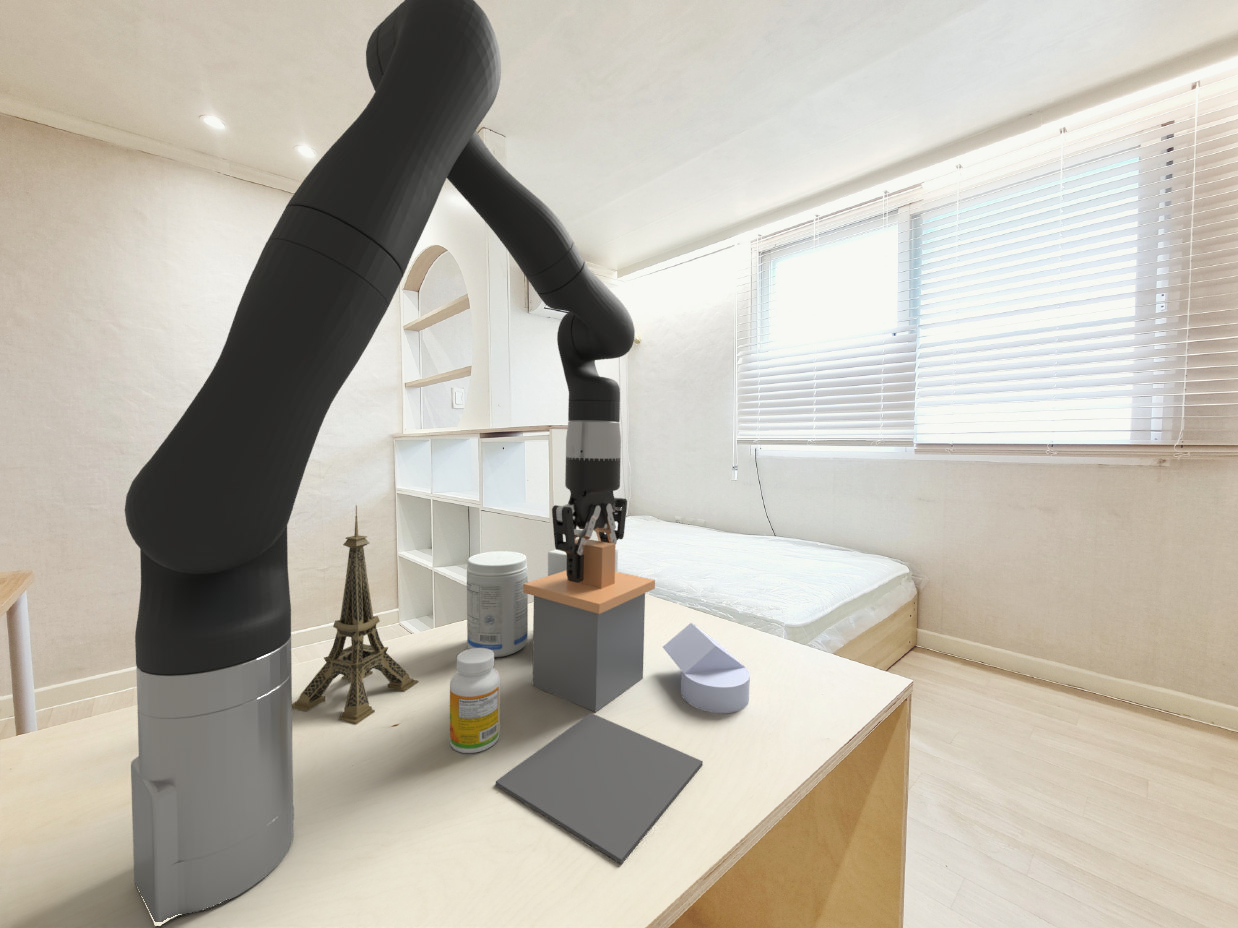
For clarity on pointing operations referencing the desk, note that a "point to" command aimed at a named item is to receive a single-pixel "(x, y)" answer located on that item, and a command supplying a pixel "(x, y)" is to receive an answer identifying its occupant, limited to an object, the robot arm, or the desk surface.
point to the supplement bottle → (474, 702)
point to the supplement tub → (497, 602)
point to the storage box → (588, 650)
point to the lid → (592, 582)
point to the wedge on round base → (708, 672)
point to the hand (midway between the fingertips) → (590, 575)
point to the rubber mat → (602, 783)
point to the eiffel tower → (355, 645)
